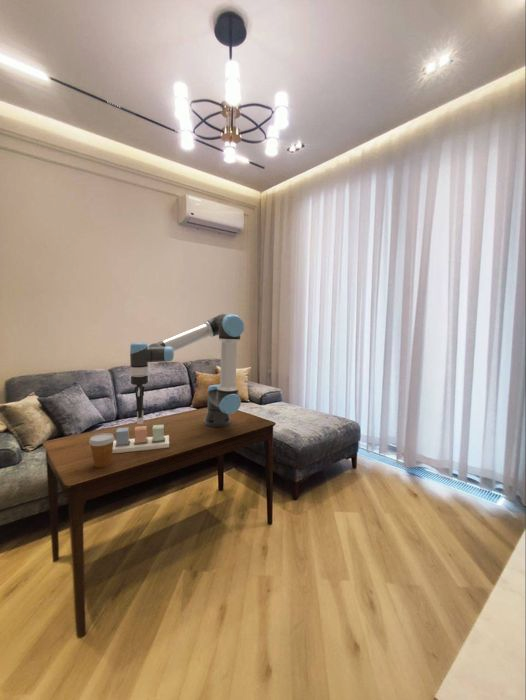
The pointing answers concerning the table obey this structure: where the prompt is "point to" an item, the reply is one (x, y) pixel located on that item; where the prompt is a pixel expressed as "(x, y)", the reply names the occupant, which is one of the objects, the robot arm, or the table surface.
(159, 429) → the sage block
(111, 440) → the disposable coffee cup
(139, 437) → the terracotta block
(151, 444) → the board
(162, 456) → the table surface
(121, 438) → the slate block
